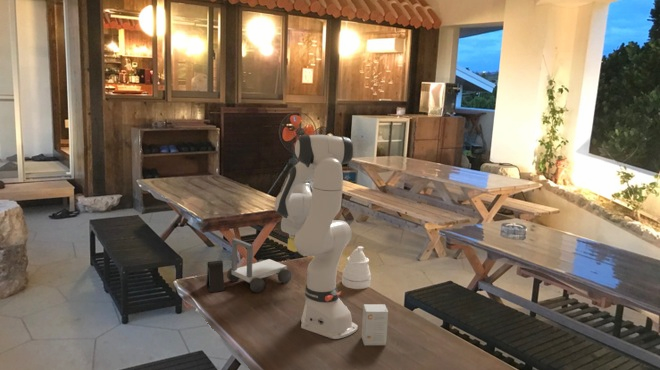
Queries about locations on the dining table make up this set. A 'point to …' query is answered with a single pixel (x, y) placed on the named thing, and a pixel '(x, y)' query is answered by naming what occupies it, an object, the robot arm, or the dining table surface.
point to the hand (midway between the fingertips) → (297, 245)
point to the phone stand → (215, 276)
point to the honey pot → (356, 270)
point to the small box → (374, 324)
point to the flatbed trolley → (255, 268)
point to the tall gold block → (291, 244)
